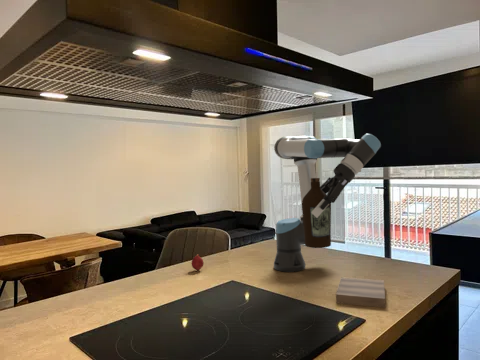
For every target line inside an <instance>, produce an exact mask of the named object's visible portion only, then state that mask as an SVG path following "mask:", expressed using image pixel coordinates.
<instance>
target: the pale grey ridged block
mask: <svg viewBox="0 0 480 360" xmlns="http://www.w3.org/2000/svg"><path fill="white" fill-rule="evenodd" d="M335 302H336V304H345V305H354V306H355V305H357V306H365V307H376V308H386V292H385V280H384V279H371V278H370V279H369V278H356V277H344V276H343V277H342V276H341V277H340V280H339V283H338V287H337V290H336V293H335Z"/></svg>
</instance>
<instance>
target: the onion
mask: <svg viewBox="0 0 480 360" xmlns="http://www.w3.org/2000/svg"><path fill="white" fill-rule="evenodd" d="M204 264H205V263H204V260H203V258H202V257H201V256H199V254H196V255H195V256H194V257H193V258H192V260H191V267H192V268H193V269H195V270H196V271H197V272H198V271H200V270H201V269H202V268H203V267H204Z"/></svg>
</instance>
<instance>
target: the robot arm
mask: <svg viewBox="0 0 480 360" xmlns="http://www.w3.org/2000/svg"><path fill="white" fill-rule="evenodd" d="M273 146H274V147H273V148H274V149H273V150H274V153H275V154H276V156H277V157H279V158H280V159H284V160H293V164H294V165H295V166H296V167H297V173H298V182H299V183H298V184H299V189H300V190H299V191H300V200H301V202H302V200H303V198H304V196H305V195H306V194H307V193H308V192H309V190H310V189H311V178H317V174H316V173H317V172H316V163H317V162H318V159H327V158H331V159H332V158H334V159H335V158H342V159H341V160H340V163H338V164H337V166H336V167H334V169H333V174H334V176H333V177H328V178H327V179H326V181H324V182H323V183H322V184H320V188H321V190H322V191H323V192H324V193H325V194H326V196H325V197H323V198H324V199H325V200H324V199H323V200H322V201H321V202H320V203H319V204H318V205H317V206H316V207H315V209H314V210H313V211H312V212H311V213H312V214H313V215H314V216H315V217H316V218H318V216H319V215H320V214H321V213H322V212H323V211H324V210H325V208H326V207H327V206H328V205H329V204H331V205H332V203H333V204H334V203H335V202H336V201H337V199H338V197H339V196H341V195H340V194H342V191H343V190H344V189H345V188H346V186H347V185H348V184H350V183H351V182H352V181H353V179H355V177H356V175H358V174H359V173H361V172H362V169H363V168H364V167H365V166H366V165H367V163H369V161H370V160H371V159H372V158H373V157H374V156H375V155H376V154H377V152H378V151H379V150H380V149H381V147H382V144H381V141H380V140H379V139H378V138H377V136H375V135H373V134H372V133H365V134H364V135H362V136H361V138H359V139H357V138H356V139H355V138H349V137H340V138H316V137H315V136H313V135H296V136H295V135H294V136H293V135H286V136H282V137H280V138H279V139H277V140H276V141H275V144H274V145H273ZM275 238H276V240H275V241H276V254H275V258H274V260H273V269H274V270H276V271H279V272H283V273H284V272H286V273H289V272H290V273H291V272H293V273H294V271H295V272H300V270H301V271H303V270H305V269H306V261H305V259H304V256H303V253H302V245H305V237H304V225H303V214H301V216H300V217H292V218H291V217H290V218H283V219H281V220H278V221H277V222H276V224H275Z"/></svg>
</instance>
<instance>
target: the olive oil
mask: <svg viewBox="0 0 480 360" xmlns="http://www.w3.org/2000/svg"><path fill="white" fill-rule="evenodd" d="M320 186H321V181H320V177H316V178H311V189H310V190H309V192H308V193H307V194H306V195H305V196H304V198H303V200H302V201H301V213H302V214H303V225H304V237H305V244H304V245H305V247H308V248H311V249H325V248H329V247H330V246H332V240H331V239H332V235H331V234H332V233H331V231H332V227H331V226H332V225H331V224H332V203H331V204H329V205H328V206H327V207H326V208H325V210H324V211H323V212H322V213H321V214H320V215H319V216H318V218H316V217H315V216H314V215H313V214H312V213H311V212H312V211H313V210H314V209H315V207H316V206H317V205H318V204H319V203H320V202H321V201H322V200H323V199H324V198H323V197H325V196H326V195H327V193H326V194H325V193H324V192H323V191H322V190H321V188H320ZM324 200H325V199H324ZM302 214H301V215H302Z"/></svg>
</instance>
